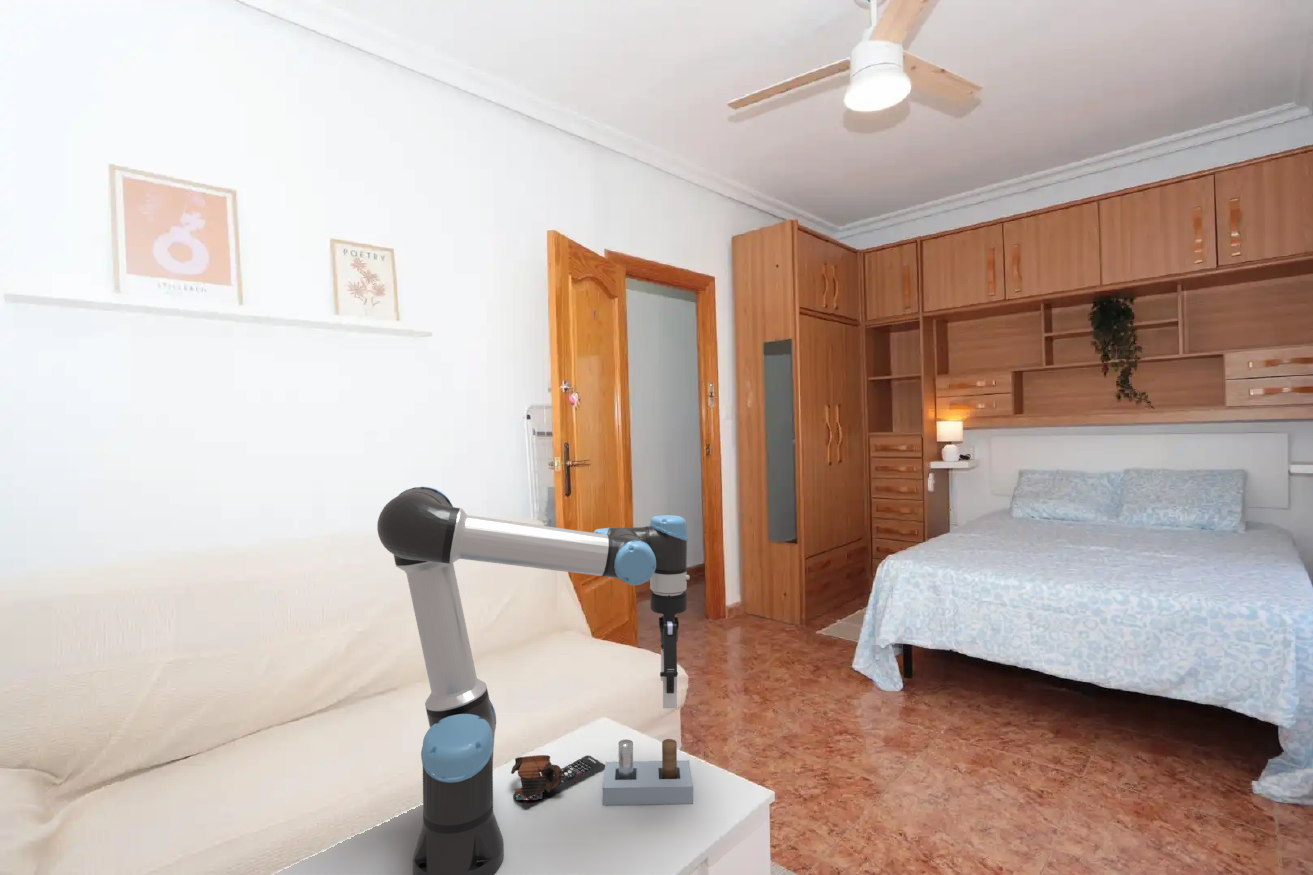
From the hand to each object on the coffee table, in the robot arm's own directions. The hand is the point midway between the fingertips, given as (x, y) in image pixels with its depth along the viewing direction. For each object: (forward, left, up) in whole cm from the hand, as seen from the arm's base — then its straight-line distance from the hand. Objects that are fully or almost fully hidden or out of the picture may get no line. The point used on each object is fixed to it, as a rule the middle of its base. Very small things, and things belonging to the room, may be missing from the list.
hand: (668, 693), depth 135 cm
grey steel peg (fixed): (-9, 0, -20) cm, 22 cm away
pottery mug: (-27, +1, -21) cm, 34 cm away
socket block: (-4, 0, -20) cm, 21 cm away
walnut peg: (0, 0, -20) cm, 20 cm away
